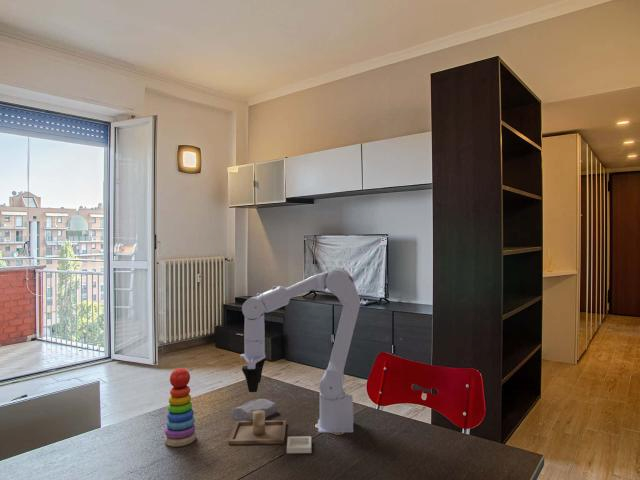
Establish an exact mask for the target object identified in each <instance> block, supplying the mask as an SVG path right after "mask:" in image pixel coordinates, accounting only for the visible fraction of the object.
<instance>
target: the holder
mask: <svg viewBox="0 0 640 480" xmlns="http://www.w3.org/2000/svg"><path fill="white" fill-rule="evenodd" d="M286 441H287V442H286V454H312V436H311V435H308V436H287V440H286Z"/></svg>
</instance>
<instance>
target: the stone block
mask: <svg viewBox="0 0 640 480" xmlns="http://www.w3.org/2000/svg"><path fill="white" fill-rule="evenodd" d="M257 410H263V411H265V419H266V418H268V417H270V416H273V415H275V414H276V413H277V411H278V405H277V403H276V402H273V401H271V400H269V399H267V398H255V399H251V400H249V401H246V402H244V403H243V404H242V405H239V406H237V407H233V408H231V419H234V420H236V421H253V412H254V411H257Z"/></svg>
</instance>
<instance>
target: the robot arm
mask: <svg viewBox="0 0 640 480" xmlns="http://www.w3.org/2000/svg"><path fill="white" fill-rule="evenodd" d="M354 281H355V280H354V278H353V277H352V276H351V274H350V273H349V272H348V271H347V270H346V269H344V268H340V267H339V268H338V267H337V268H334V269H332V270H331V271H330V270H328V271H324V272H319V273H316V274H315V275H312V276H309V277H308V278H306V279H304V280H301V281H298V282H297V283H295V284H293V285H290V286H288V287H285V286H282V285H277V284H276V285H275V284H274V285H273V286H271V289H269V290H266V291H265V292H262V293H261V292H257V293H256V296H252V297H249V298H248V299H246V300H245V301H244V302H243V303H242V306H241V312H242V314H243V316H244V325H243V326H244V328H243V329H244V330H243V331H244V334H243V336H244V337H243V338H244V341H243V342H244V345H243V346H244V353H241V354H240V355H239V358H240V359H243V360H245V361H246V363H247V365H243V366H242V367H241V371H242V373H243V375H244V377H245V380H246V386H247V389H248V392H249V393H257V392H258V388H259V384H260V383H261V379H262V374H263V369H264V365H265V362H266V360H267V356H266V353H265V351H266V350H265V347H266V344H265V341H266V337H265V335H266V334H265V333H266V331H265V328H266V327H265V313H270V312H273V311H275V310H278V309H280V308H282V307H284V306H288V305H289V304H290V300H291V298H295V297H297V296H300V295H302V294H305V293H308V292H310V291H312V290H321V291H326V289H327V290H328V291H329V292H330V293H332V294H333V295H334V296H335V297H337V300H339V302H340V304H341V305H342V310H341V314H340V318H339V321H338V325H337V326H338V327H337V331H336V334H335V337H334V343H333V346H332V349H331V354H330V358H329V362H328V365H327V367H326V369H325V370H324V371H323V373H322V379H321V380H320V381H319V419H317V430H318V432H317V433H320V434H325V433H326V434H327V433H335V434H336V433H354V422H355V420H354V419H355V418H354V402H353V401H354V399H353V395H352V394H347V393H346V391H344V386H343V385H344V382H345V373H344V370H345V366H346V361H347V358H348V354H349V352H350V351H349V350H350V346H351V344H352V343H351V342H352V339H353V335H354V330H355V326H356V322H357V319H358V315H359V312H360V307H361V297H360V295H359V293H358V290H357V286H356V284H355V282H354Z"/></svg>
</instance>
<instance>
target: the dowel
mask: <svg viewBox="0 0 640 480" xmlns="http://www.w3.org/2000/svg"><path fill="white" fill-rule="evenodd" d="M265 421H266V418H265V411H263V410H257V411H254V412H253V434H254V435H256V436H261V435H264V434H265Z"/></svg>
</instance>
